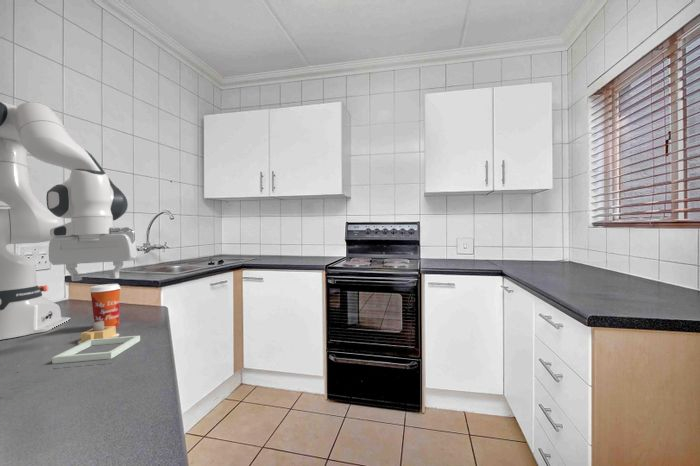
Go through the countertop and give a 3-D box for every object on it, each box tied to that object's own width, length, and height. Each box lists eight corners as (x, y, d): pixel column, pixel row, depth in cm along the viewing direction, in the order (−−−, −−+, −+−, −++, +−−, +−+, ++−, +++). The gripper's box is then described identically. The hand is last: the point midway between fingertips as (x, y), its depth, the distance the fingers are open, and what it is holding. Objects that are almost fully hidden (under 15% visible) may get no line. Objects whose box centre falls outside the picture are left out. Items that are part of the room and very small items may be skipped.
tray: (90, 349, 82) (90, 339, 82) (140, 344, 83) (140, 335, 83) (52, 368, 70) (51, 357, 70) (111, 363, 71) (111, 352, 71)
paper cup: (96, 336, 93) (93, 288, 92) (88, 332, 97) (85, 286, 97) (127, 329, 99) (124, 284, 99) (118, 325, 103) (116, 282, 103)
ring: (95, 336, 89) (94, 327, 89) (115, 334, 90) (115, 325, 90) (77, 344, 82) (76, 335, 82) (99, 342, 83) (99, 333, 83)
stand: (92, 338, 91) (91, 319, 91) (126, 336, 92) (125, 316, 92) (68, 350, 82) (67, 328, 82) (106, 347, 83) (105, 325, 83)
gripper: (140, 227, 91) (142, 275, 91) (61, 230, 88) (64, 280, 88) (127, 226, 84) (130, 278, 85) (42, 230, 82) (45, 283, 82)
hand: (95, 279), depth 86 cm, fingers open, 8 cm apart
